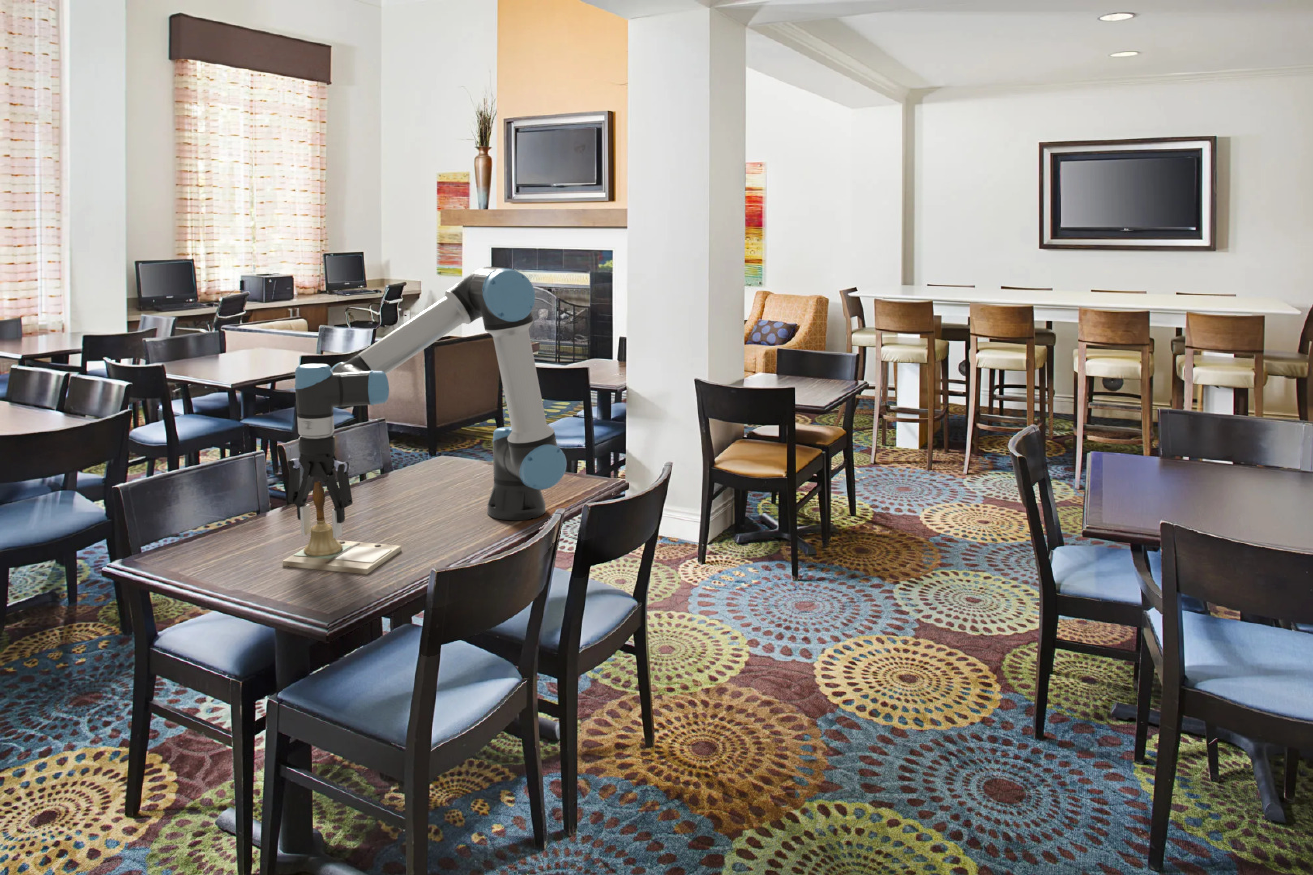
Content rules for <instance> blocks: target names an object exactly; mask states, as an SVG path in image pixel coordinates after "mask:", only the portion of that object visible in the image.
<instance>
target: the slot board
mask: <svg viewBox="0 0 1313 875" xmlns="http://www.w3.org/2000/svg"><path fill="white" fill-rule="evenodd" d="M336 540H337V541H338V542H339V543H341V545H342V546H343V548H342V549H341V550H340V551H339V552H337V553H335V554H331V555H327V556H310V555H307V554H305V553H304V548H303V549H301V550H299V551H297V552H296V553H293V554H292V555H290V556H289V557H287V558H285V559H283V560H282V562H281V563H282V567H288V566H289V568H298V569H299V568H300V569H309V570H319V571H329V572H330V571H332V572H341V573H342V572H343V573H351V574H363V575H368V574H369V573H371V572H373V571H374V570H375V569H376V568H378V567H380V566H381V565H383V564H384V563H386V562H387V561H389V560H390V559H391V558H392V557H394V556H396V555H398V554H399V553H400V552H401V551H402V545H396V544H386V543H376V542H375V543H374V542H373V543H372V542H361V541H350V540H341V539H336Z"/></svg>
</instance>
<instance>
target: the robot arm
mask: <svg viewBox="0 0 1313 875" xmlns="http://www.w3.org/2000/svg"><path fill="white" fill-rule="evenodd" d="M444 293H445V294H444V297H442V298H441V299H439V300H438V301H436V302H435V303H433V304H432V305H430V306H429V307H427V308H426V309H424V310H423V311H421V312H420V313H418V314H417V315H416V316H414V317H412V318H411V319H409V320H408V321H406V322H405V323H403V324H401V325H400V326H399V327H397V328H395V329H394V330H393V331H391V332H390V333H388V334H387V335H385V336H383V337H382V338H380V339H379V340H378V341H375V343H373V344H371V345H370V346H369V347H367V348H365V349H364V350H362V351H361V352H359V353H358V354H356V355H355V356H353V357H352V358H350V359H349V360H347V361H341V362H338V363H336V364H334V365H333V366H332V367H331V366H330V364H327V363H305V364H304V363H303V364H300V365H298V366H297V367H296V368H295V370H294V371H295V372H294V374H295V375H294V378H295V381H294V383H295V384H294V388H295V392H294V393H295V400H296V401H295V402H296V403H295V404H296V415H297V416H296V417H297V419H296V420H297V432H298V434H299V435H300V436H299V437H298V438H297V440H298V451H299V453H300V456H299V458H297V457H294V458H291V459H290V460H287V468H288V470H289V472H288V492H287V502H288V503H289V504H293V505H295V507H296V515H297V519H298V520H299V521H300V528H301V531H300V532H301V536H303V537H304V536H306V535H309V534H311V528H312V524H311V523H312V522H311V504H308V502H309V501H308V497H309V495H310V491H311V488H312V485H313V481H314V478H315V477H318V478H321V480H322V482H323V483H324V484H325V486H326V489H327V491H328V494H329V497H330V499H331V501H332V504H333V506H334V508H333V509H331V522H332V523H331V524H332V525H331V526H332V529H333V538H336V539H337V538H339V537H341V536H343V523H344V522H345V520H346V513H345V508H347V507H350V506H351V505H353V503H354V502H353V501H354V500H353V497H352V496H353V495H352V492H351V491H352V490H351V484H350V477H349V467H350V463H349V462H348V461H344V462H343V461H339V460H338V459H337V457H336V455H335V452H336V440H335V439H336V436H335V435H334V433H335V421H334V418H335V417H334V408H340V407H354V406H355V407H356V406H374V405H380V404H385V403H387V401H388V400H389V395H390V384H389V379H388V376H387V375H388V374H389V373H391V372H393V370H395V369H398V367H400V366H401V365H403V364H404V363H406V362H407V361H409V360H410V359H411V358H413V357H415V356H416V355H417V354H419V353H420V352H422V351H423V350H425V349H426V348H428V347H429V346H431V345H432V344H434V343H435V342H437V341H438V340H440V339H441V338H443V337H445V335H447V334H449V333H450V332H452V331H453V330H455V329H456V328H458V327H459V326H461V325H462V324H466V325H469V324H472V323H473V322H474V321H476V320H478V319H480V318H482V322H483V327H484V331H486V332H487V333H488V334H489V335H491V337H492V340H493V344H494V350H495V353H496V359H497V363H498V369H499V373H500V379H501V383H502V388H503V389H502V390H503V393H504V398H505V403H506V407H507V413H508V418H509V421H510V422H509V424H510V426H502V427H498V428H495V430H493V437H492V441H491V442H492V459H493V462H492V463H493V466H492V467H493V486H492V489H491V491H490V492H491V493H490V496H489V498H488V502H487V506H486V507H487V508H486V509H487V515H488V516H489V517H491V518H494V519H497V520H502V521H503V520H504V521H523V520H532V519H531V518H533V519H537V518H539V516H540V517H542V516H543V514H544V513H545V514H546V501H545V499H544V495H543V493H542V491H543V490H548V489H551V488H552V487H554V486H556V485H557V484H558V483H559V482H560V481H561V480H562V478H563V477H564V475H565V473H566V471H567V458H566V457H567V456H566V455H565V453H564V451H563V450H562V449H561V448H560V447H558V442H557V438H556V433H555V428H553V427H552V426H550V425H548V423H547V420H546V419H547V418H546V414H545V409H544V403H543V398H542V393H541V388H540V384H539V383H540V382H539V378H538V373H537V366H536V362H535V357H534V351H533V345H532V340H531V336H530V331H529V330H530V327H531V326H532V325H533V323H534V317H533V312H532V310H533V308H534V307H535V302H536V291H535V288H534V286H533V284H532V283H531V280H530V278H528V277H527V276H526V275H524V274H523V273H521V272H520V271H518V270H516V269H513V268H510V267H496V266H484V267H481V268H478V269H476V270H475V271H473V272H471V273H470V274H469V275H467V276H465V277H464V278H462V279H461V280H460V281H459V282H456V283H455V284H454V285H453V286H452V287H450V288H448V289H446V290H445V292H444ZM301 467H302V468H303V473H302V477H301ZM334 468H335V471H336V472H337V473H335V471H334ZM336 474H337V475H336ZM336 476H337V480H336ZM301 478H302V480H301ZM300 480H301V482H300ZM337 481H338V482H337ZM545 514H544V515H545ZM541 515H542V516H541Z"/></svg>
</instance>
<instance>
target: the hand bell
mask: <svg viewBox="0 0 1313 875" xmlns="http://www.w3.org/2000/svg"><path fill="white" fill-rule="evenodd" d="M313 484H314V485H313V488H312V500H313V504H314V506H315V510H316V511H315V512H316V524H315V525H313V526H311V532H310V538H309V541H308V543H307V545H306V546H305V547H304V548H303V549H304V553H305V554H307V555H310V556H327V555H331V554H335V553H337V552H339V551H340V550H341V549H342V548H343V546H342V545H341V543H339V542H338V541H337V540H338V539H337V538H333V526H332V525H331V524H330V523H326V518H325V511H324V510H325V509H324V508H325V502H326V494H325V489H324V487H323V485H322V482H321V481H320V480H316V481H314V483H313Z"/></svg>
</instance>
